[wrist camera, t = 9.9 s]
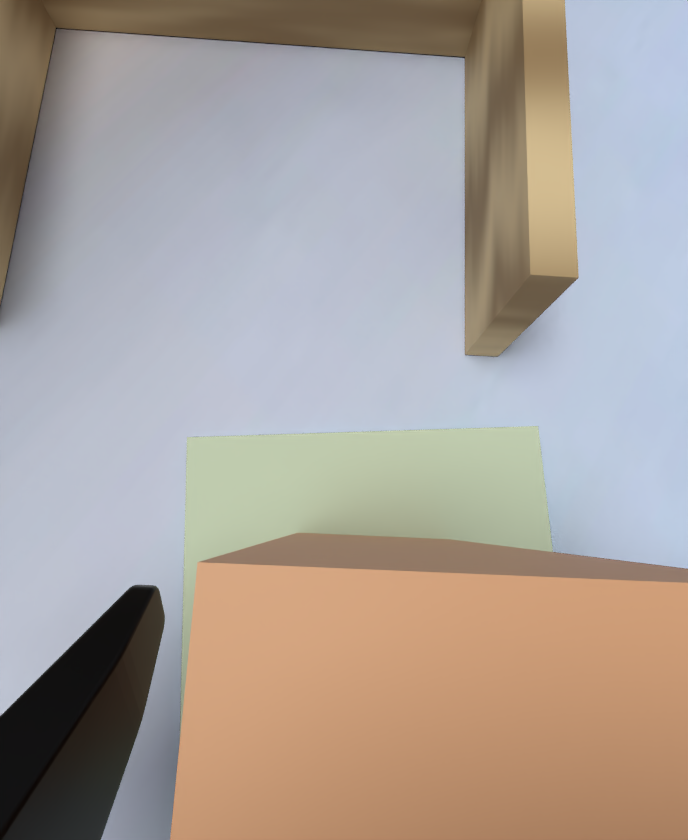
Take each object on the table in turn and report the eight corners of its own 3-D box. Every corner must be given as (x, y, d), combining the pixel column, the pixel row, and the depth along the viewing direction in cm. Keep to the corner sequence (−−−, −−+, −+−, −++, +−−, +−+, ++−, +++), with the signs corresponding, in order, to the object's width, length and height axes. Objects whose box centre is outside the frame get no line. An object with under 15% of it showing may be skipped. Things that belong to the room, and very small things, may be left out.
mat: (180, 839, 15) (176, 847, 15) (190, 439, 17) (187, 437, 17) (578, 813, 15) (584, 821, 15) (533, 428, 18) (537, 426, 17)
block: (449, 705, 16) (1005, 1524, 3) (287, 699, 15) (101, 1529, 3) (449, 539, 17) (857, 590, 4) (297, 532, 16) (197, 562, 4)
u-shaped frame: (497, 356, 18) (578, 277, 12) (-39, 325, 18) (-218, 228, 12) (493, 35, 21) (556, -152, 15) (31, 1, 21) (-85, -205, 15)
